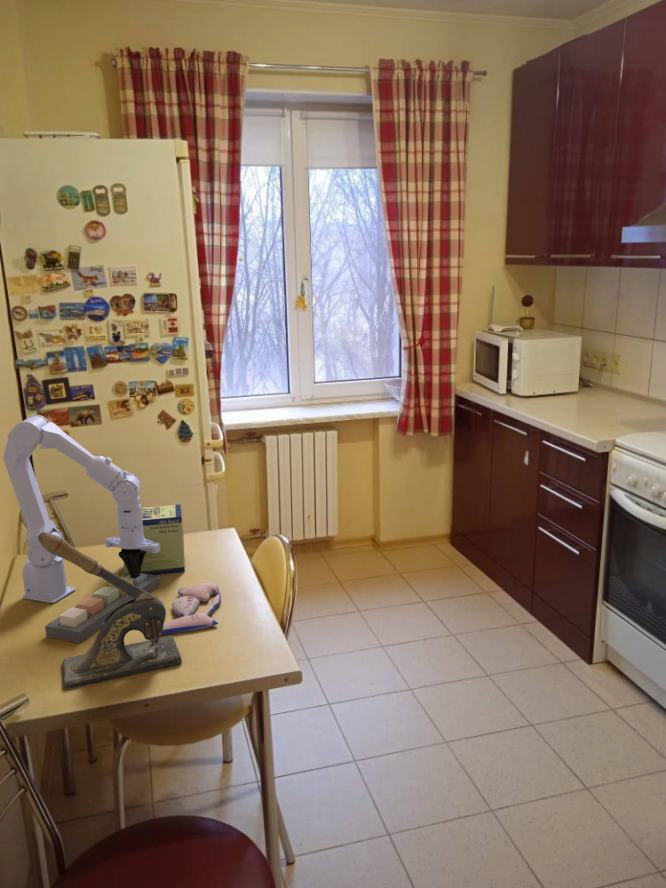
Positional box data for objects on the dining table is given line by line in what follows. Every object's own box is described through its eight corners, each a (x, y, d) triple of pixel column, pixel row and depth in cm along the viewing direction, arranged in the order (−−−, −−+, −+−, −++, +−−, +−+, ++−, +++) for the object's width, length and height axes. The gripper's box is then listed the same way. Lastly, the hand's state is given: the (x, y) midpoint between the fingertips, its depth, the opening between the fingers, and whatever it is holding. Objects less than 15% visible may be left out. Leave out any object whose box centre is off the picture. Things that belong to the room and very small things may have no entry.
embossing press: (183, 667, 138) (171, 524, 131) (55, 692, 131) (35, 541, 124) (176, 641, 148) (165, 506, 141) (57, 662, 141) (39, 522, 134)
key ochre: (109, 595, 167) (108, 583, 166) (120, 588, 170) (119, 576, 170) (123, 597, 165) (122, 585, 165) (134, 590, 169) (132, 578, 168)
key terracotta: (78, 616, 157) (76, 604, 156) (89, 608, 160) (88, 596, 159) (92, 619, 155) (91, 606, 154) (104, 611, 159) (103, 598, 158)
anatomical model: (159, 639, 150) (229, 628, 154) (158, 627, 149) (228, 616, 153) (154, 598, 169) (217, 589, 173) (153, 587, 168) (216, 578, 172)
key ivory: (60, 628, 151) (59, 615, 151) (73, 619, 155) (71, 607, 154) (75, 630, 150) (74, 618, 149) (88, 622, 154) (86, 609, 153)
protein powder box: (186, 572, 183) (181, 515, 179) (124, 579, 179) (118, 521, 176) (185, 557, 193) (181, 503, 189) (126, 563, 189) (121, 509, 186)
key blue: (124, 589, 172) (123, 578, 171) (134, 583, 176) (133, 572, 175) (138, 592, 171) (137, 580, 170) (147, 585, 174) (146, 574, 174)
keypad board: (46, 636, 151) (44, 626, 150) (130, 580, 178) (129, 571, 178) (80, 643, 148) (79, 632, 147) (160, 584, 175) (159, 575, 175)
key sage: (94, 605, 162) (93, 593, 161) (105, 598, 165) (104, 586, 165) (108, 607, 160) (107, 595, 160) (119, 600, 164) (118, 588, 163)
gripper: (165, 522, 171) (169, 573, 174) (115, 516, 176) (120, 566, 179) (148, 531, 164) (153, 585, 167) (97, 525, 169) (103, 577, 172)
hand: (135, 576), depth 173 cm, fingers closed, pressing on key blue
